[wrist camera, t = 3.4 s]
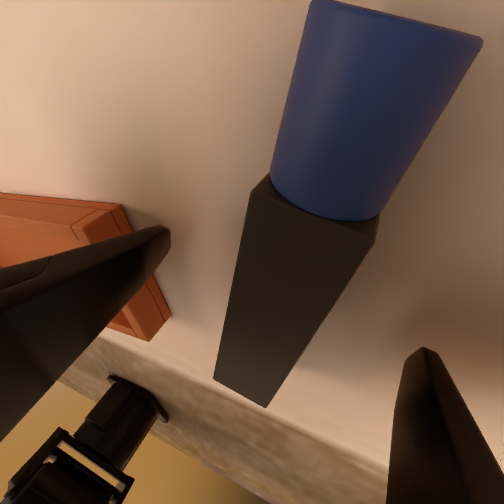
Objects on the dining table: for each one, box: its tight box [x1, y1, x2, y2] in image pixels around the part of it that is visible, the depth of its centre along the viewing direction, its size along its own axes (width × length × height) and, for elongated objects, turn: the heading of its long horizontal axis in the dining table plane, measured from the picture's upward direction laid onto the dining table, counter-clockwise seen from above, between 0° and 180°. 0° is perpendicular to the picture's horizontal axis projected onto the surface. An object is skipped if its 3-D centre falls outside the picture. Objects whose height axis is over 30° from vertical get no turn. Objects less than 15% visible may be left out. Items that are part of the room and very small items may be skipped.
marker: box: [213, 0, 484, 408], centre depth 9 cm, size 14×3×3 cm, turn 168°
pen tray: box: [0, 193, 171, 342], centre depth 18 cm, size 20×8×2 cm, turn 98°
